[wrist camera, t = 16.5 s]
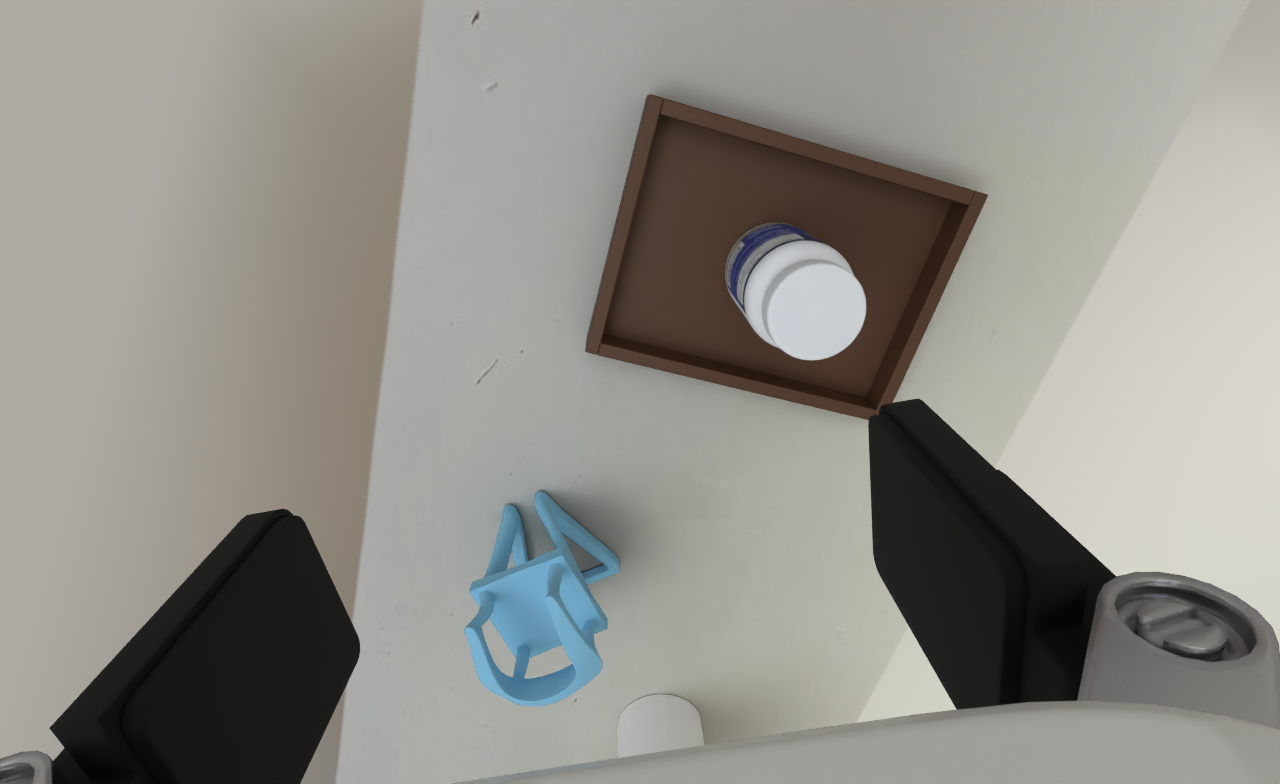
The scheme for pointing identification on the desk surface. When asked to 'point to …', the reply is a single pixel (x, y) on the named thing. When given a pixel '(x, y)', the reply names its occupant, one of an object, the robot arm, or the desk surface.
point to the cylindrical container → (658, 726)
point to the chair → (540, 607)
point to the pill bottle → (795, 291)
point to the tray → (755, 195)
